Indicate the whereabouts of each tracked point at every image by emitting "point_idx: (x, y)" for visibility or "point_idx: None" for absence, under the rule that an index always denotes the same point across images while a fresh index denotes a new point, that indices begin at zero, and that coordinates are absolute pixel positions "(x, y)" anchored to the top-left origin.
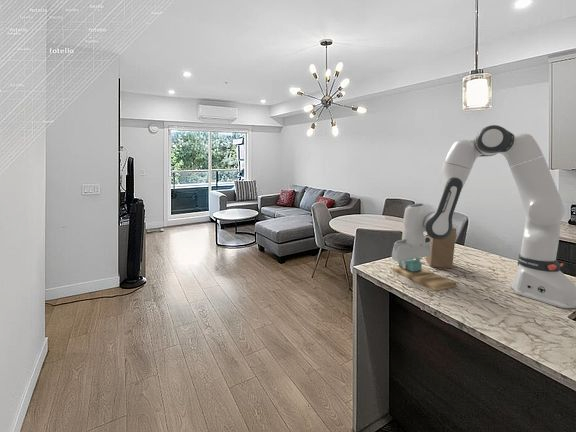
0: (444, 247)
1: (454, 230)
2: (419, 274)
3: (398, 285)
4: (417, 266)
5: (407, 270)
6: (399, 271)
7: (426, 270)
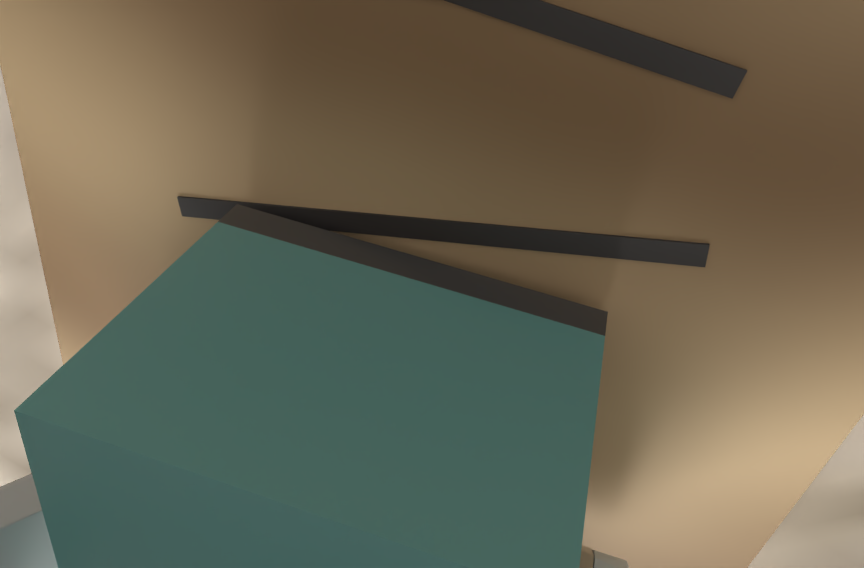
0: None
1: None
2: (548, 72)
3: None
4: (335, 380)
5: None
6: (734, 565)
7: (24, 139)
